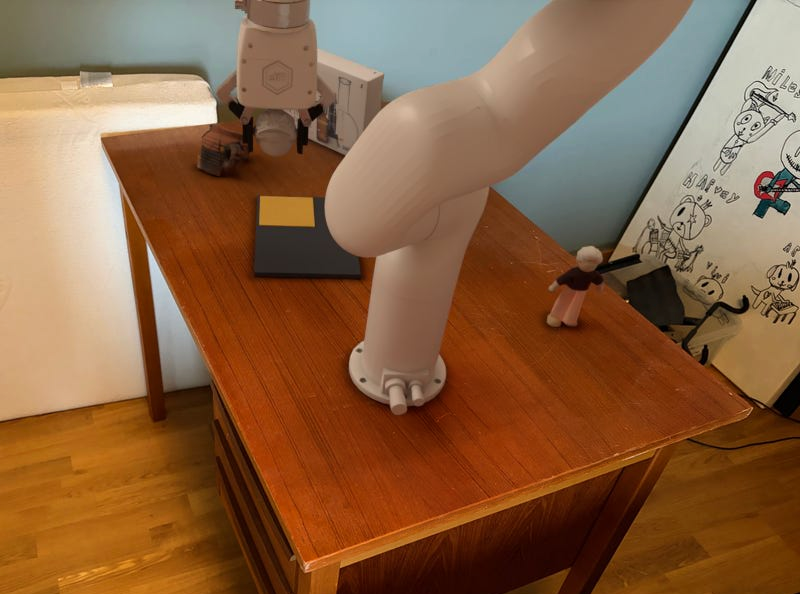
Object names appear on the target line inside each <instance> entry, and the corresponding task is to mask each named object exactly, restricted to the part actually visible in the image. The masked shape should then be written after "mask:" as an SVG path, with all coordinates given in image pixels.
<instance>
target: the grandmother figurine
mask: <svg viewBox="0 0 800 594" xmlns="http://www.w3.org/2000/svg"><path fill="white" fill-rule="evenodd" d="M603 258H604V257H603V254H602V252H601V250H599V248H597V247H595V246H594V245H587V246H582V247H581V248H580V249H579V250H577V253H576V257H575V260H576V261H577V266H574V267H572V268H570V269H569V270H567V271H565V272H563V274H561V275H559V276H558V277H556V278H555V280H554V281H553V282H552V284H550V285H549V286H548V289H547V290H548V291H549V292H550V293H555V292H556V290H557V289H559V288H560V287H561V286H564V287H563V288H562V290H561V292H560V294H559V295H558V297H557V298H556V300H555V302H554V304H553V306H552V309H551V311H550V313H549V314H548V315H547V318H546V323H547V325H549V326H550V327H553V328H554V327H555V328H559V327H561V325H562V323H563V324H565V325H566V326H568V327H576V326H578V318H579V315H580V312H581V309H582V306H583V302H584V300H585V297H586V296H587V294H588V291H589V288H590V286H591V284H593V285H594V286H595V290H596V291H597V292H602V291H604V289H605V288H604V281H605V279H604V277H603V275H602V274H601V273H600V272H599V271H598V270H596V269H597V267H598V266H599V264H601V263H602V262H603V260H604V259H603Z"/></svg>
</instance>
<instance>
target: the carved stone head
mask: <svg viewBox="0 0 800 594" xmlns="http://www.w3.org/2000/svg"><path fill="white" fill-rule="evenodd" d="M297 136H298V130H297V129H296V126H295V122H294V118H293V117H292V116H291V115H290V114H288V113H287V112H285V111H284V110H283V109H266V110H264V111H261V113H260V114H259V115H258V116H257V118H256V120H255V125H253V137H254V138H255V140H256V143H257V145H258V147H259V148H260V149H261V150H262V152H263V153H265V154H266V155H268V156H271V157H282V156H284V155H286V154H287V153H288V152H289V151H290V150H291V149H292V148H293V145H294V143H295V142H296V141H297Z"/></svg>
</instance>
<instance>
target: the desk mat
mask: <svg viewBox="0 0 800 594" xmlns="http://www.w3.org/2000/svg"><path fill="white" fill-rule="evenodd" d="M255 218H256V221H255V242H254V243H255V245H254V268H253V276H254V277H273V278H310V279H311V278H313V279H315V278H316V279H318V278H319V279H354V280H355V279H362V272H361V267H360V266H361V265H360V258H359V257H360V256H356V255H353V254H351V253H349V252H347V251H346V250H344V249H343V248H342V247H341V246H340V245H338V243H337V242H336V241H335V240H334V238H333V237H332V235H331V233H330V231H329V228H328V226H327V222H326V217H325V197H322V196H321V197H317V196H289V195H288V196H287V195H286V196H285V195H257V196H256V217H255Z"/></svg>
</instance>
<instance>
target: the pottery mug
mask: <svg viewBox="0 0 800 594" xmlns="http://www.w3.org/2000/svg"><path fill="white" fill-rule="evenodd" d="M201 144H202V145H201V147H200V154H198V155H197V158H196V167H197V169H199V170H202V171H204V172H205V173H207V174H211V175H212V176H217V177H220V176H221V172H222V169H223V170H224V172H226V173H232V172H235V171H236V170H237V168H238V167H239V164H240V163H241V160H242V157H243V160H244V161H249V160H250V156H251V155H250V153H249V152H248V144H244V143H243V133H240V132H237V131H235V130H233V129H232V130H231V129H229V128H226V127H223V126H219V125H217V124H213V123H211V124H209V130H207V131H206V132H204V134H203V135H201ZM221 147H222V148H223V150H222V151H221Z"/></svg>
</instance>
